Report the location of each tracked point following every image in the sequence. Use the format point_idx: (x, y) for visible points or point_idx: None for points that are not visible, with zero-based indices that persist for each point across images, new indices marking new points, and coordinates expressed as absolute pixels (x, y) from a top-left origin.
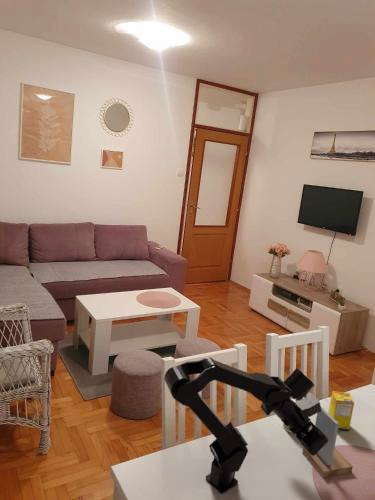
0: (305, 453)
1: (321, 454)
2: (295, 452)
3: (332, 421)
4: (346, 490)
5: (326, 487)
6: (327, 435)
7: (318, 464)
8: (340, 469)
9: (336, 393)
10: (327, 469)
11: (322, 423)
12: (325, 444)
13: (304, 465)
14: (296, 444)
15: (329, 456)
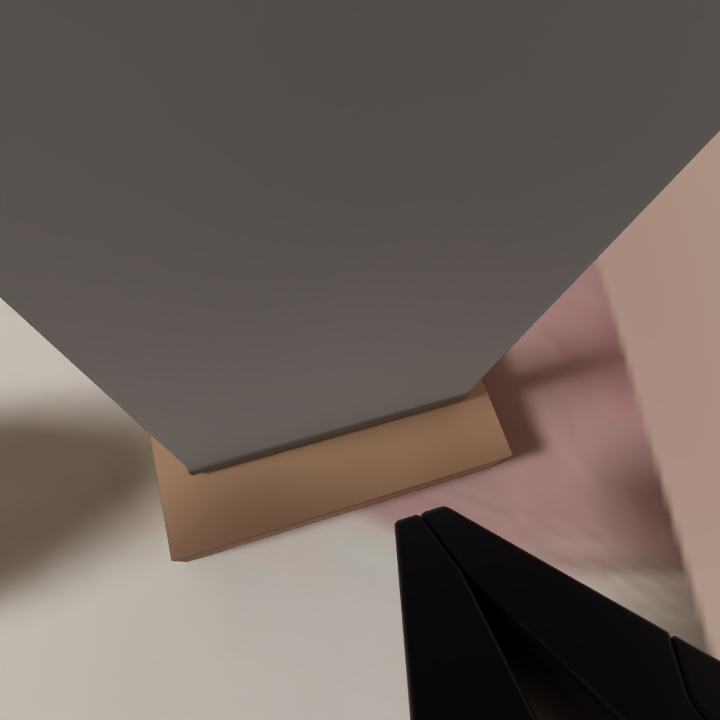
0: (229, 544)
1: (366, 413)
2: (174, 640)
3: None
4: (578, 332)
5: (586, 474)
6: (482, 263)
7: (426, 475)
8: None
9: None
10: (477, 410)
11: (291, 216)
12: (427, 347)
13: (360, 594)
14: (46, 587)
15: (494, 358)
